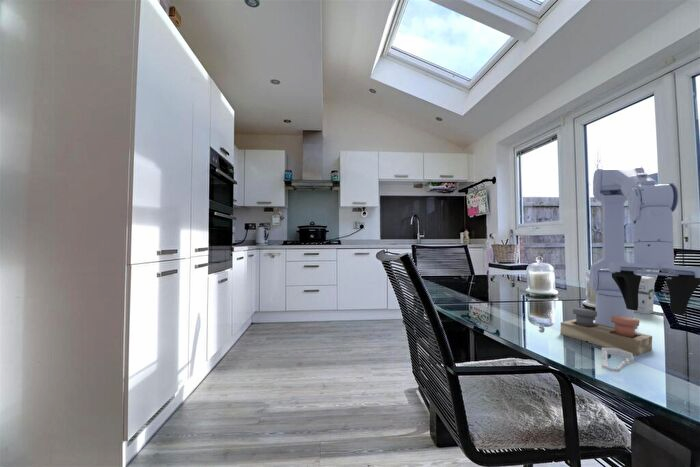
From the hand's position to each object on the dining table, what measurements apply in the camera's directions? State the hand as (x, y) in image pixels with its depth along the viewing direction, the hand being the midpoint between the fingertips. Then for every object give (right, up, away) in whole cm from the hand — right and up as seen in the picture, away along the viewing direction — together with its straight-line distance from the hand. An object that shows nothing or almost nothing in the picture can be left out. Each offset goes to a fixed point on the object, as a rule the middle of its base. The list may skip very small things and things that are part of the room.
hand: (654, 311), depth 61 cm
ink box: (+37, -11, +44) cm, 58 cm away
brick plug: (+3, -8, +10) cm, 13 cm away
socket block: (+1, -10, +13) cm, 17 cm away
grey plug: (-1, -8, +17) cm, 18 cm away
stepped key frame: (-6, -11, +2) cm, 13 cm away
